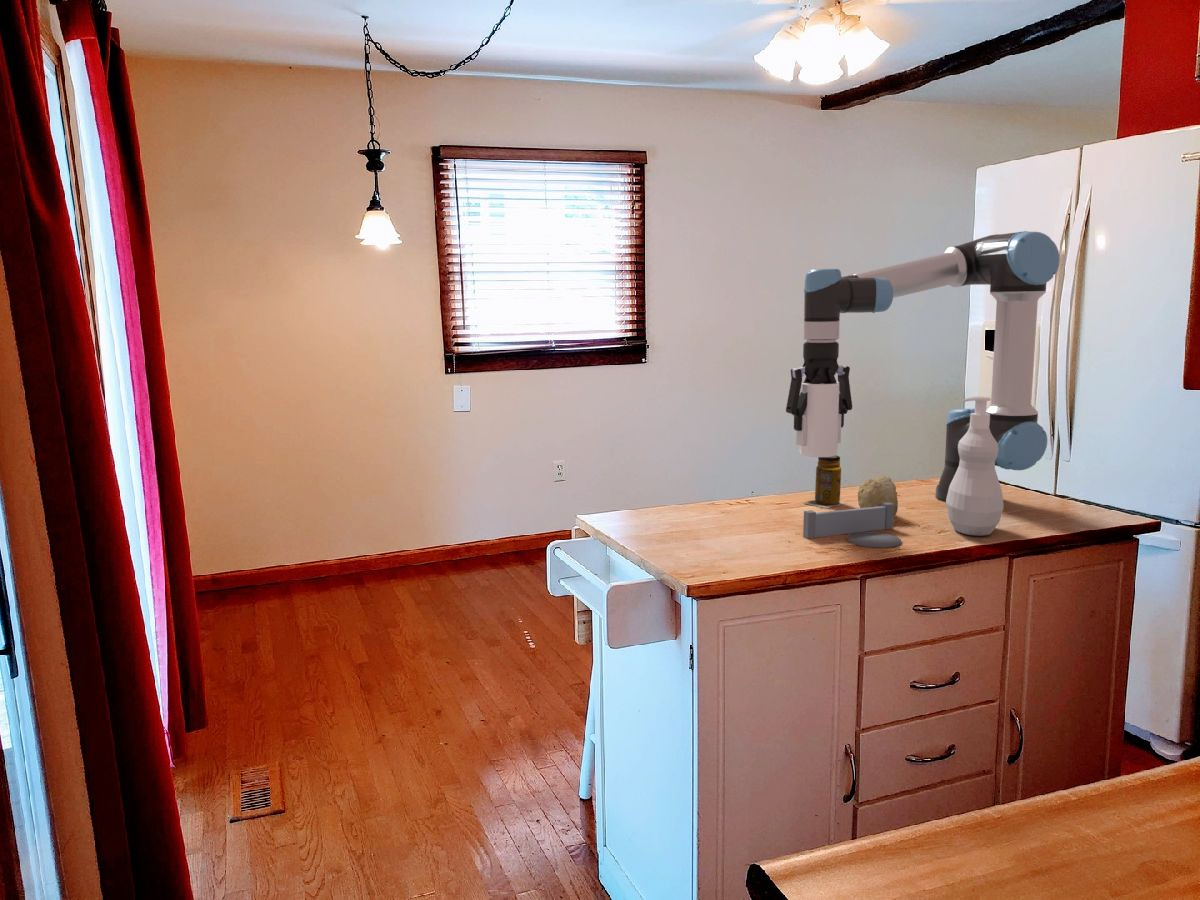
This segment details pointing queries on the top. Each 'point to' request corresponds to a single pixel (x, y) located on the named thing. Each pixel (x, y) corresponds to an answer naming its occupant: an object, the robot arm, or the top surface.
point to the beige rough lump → (877, 493)
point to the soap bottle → (976, 478)
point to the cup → (821, 420)
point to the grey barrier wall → (848, 521)
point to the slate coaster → (874, 540)
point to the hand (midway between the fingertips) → (818, 443)
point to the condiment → (827, 483)
